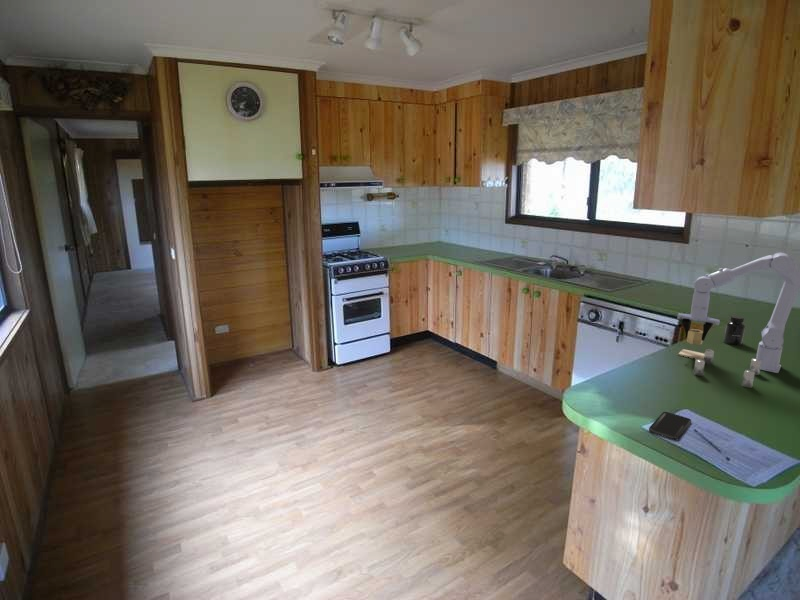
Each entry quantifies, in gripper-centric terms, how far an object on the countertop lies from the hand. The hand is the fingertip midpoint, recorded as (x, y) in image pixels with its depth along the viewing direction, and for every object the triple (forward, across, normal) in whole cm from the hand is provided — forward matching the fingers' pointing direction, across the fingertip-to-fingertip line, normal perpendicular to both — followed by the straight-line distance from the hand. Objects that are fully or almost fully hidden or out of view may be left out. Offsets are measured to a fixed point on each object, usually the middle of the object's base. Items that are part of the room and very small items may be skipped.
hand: (695, 338), depth 193 cm
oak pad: (+8, 0, 0) cm, 8 cm away
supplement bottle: (+8, +9, +29) cm, 31 cm away
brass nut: (+2, 0, 0) cm, 2 cm away
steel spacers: (+8, +14, -13) cm, 21 cm away
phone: (+8, +10, -69) cm, 70 cm away
